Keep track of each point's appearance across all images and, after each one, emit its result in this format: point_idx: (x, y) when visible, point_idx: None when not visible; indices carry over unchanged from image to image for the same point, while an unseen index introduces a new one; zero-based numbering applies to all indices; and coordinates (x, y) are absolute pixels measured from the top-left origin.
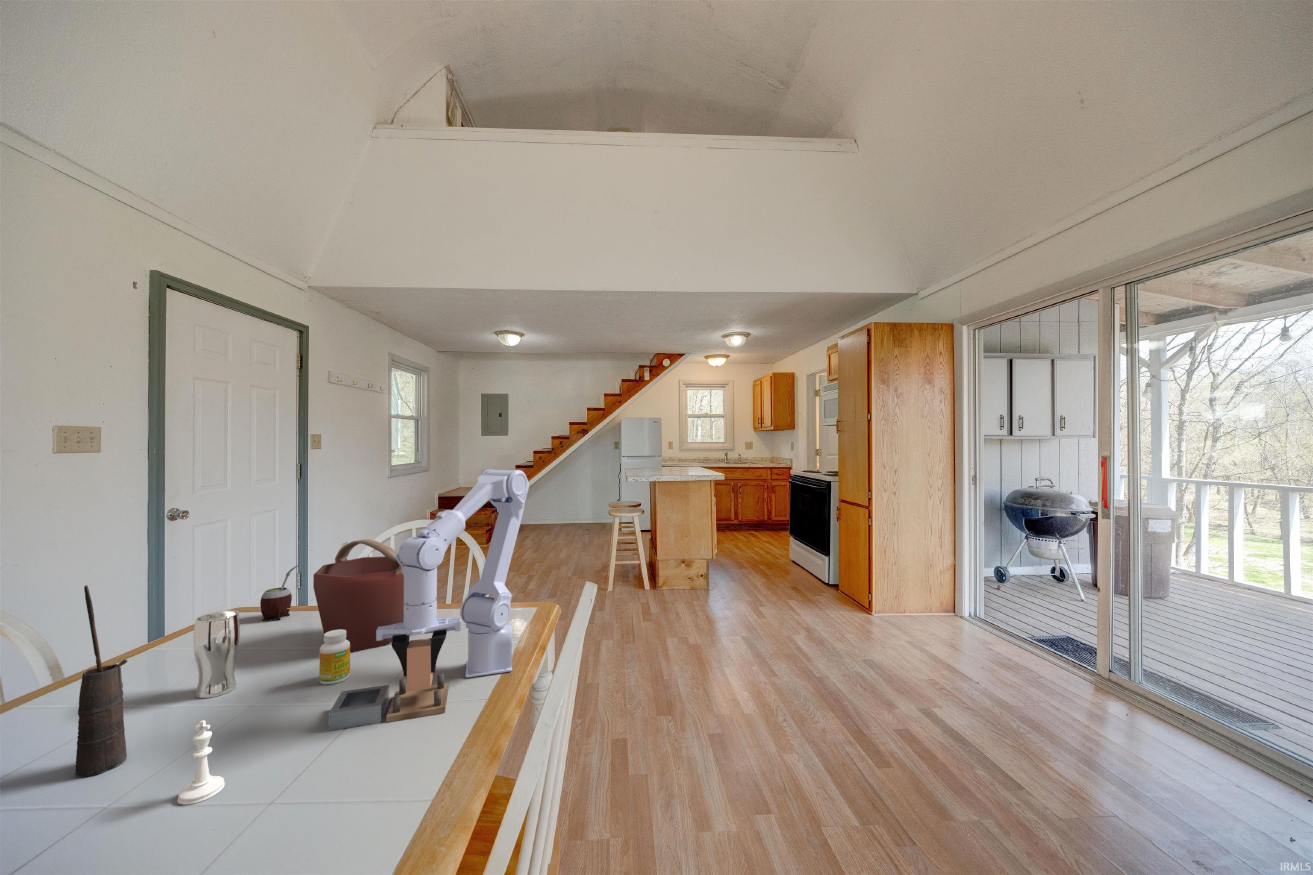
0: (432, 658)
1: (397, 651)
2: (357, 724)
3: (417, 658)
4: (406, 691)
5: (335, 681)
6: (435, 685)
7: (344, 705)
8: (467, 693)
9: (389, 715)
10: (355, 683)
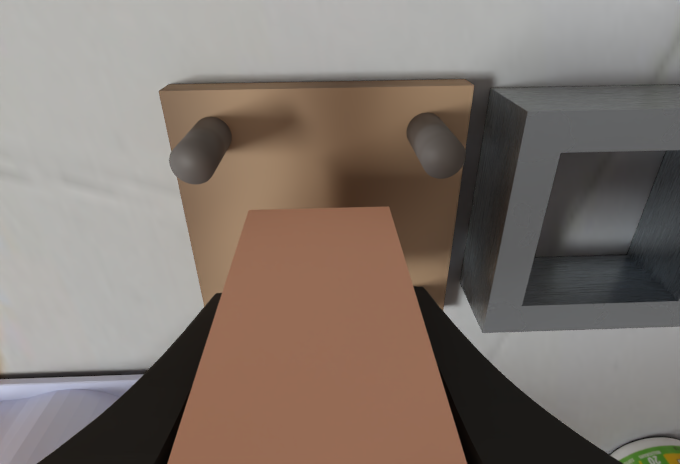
0: (192, 365)
1: (584, 454)
2: (603, 88)
3: (331, 366)
4: None
5: (650, 443)
6: None
7: (672, 236)
8: (107, 249)
9: (458, 94)
10: (580, 425)
